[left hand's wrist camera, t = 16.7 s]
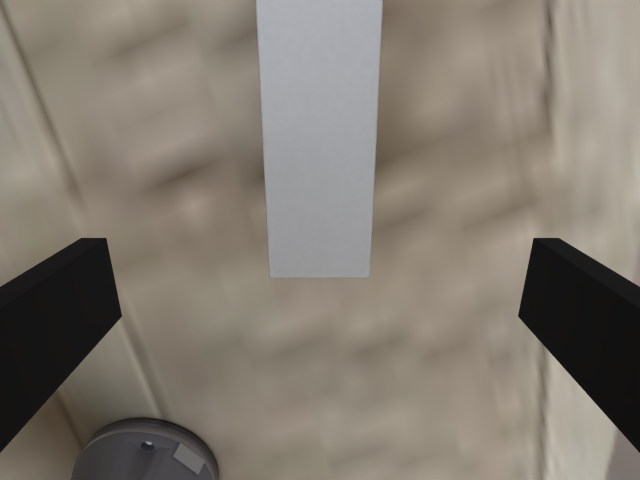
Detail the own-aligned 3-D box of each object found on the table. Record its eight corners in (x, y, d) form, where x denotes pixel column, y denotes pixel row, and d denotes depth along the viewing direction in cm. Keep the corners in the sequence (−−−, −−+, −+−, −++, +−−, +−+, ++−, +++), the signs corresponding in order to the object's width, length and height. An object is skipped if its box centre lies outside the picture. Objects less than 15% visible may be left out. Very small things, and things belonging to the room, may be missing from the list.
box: (352, 214, 34) (370, 278, 23) (286, 214, 34) (269, 278, 23) (363, -144, 26) (399, -347, 14) (275, -144, 26) (237, -346, 14)
